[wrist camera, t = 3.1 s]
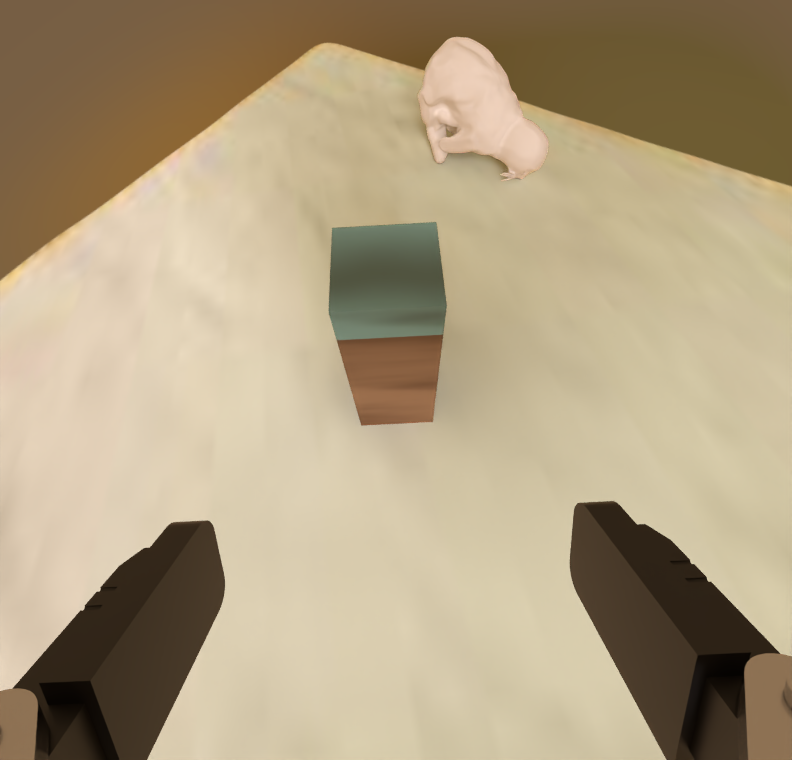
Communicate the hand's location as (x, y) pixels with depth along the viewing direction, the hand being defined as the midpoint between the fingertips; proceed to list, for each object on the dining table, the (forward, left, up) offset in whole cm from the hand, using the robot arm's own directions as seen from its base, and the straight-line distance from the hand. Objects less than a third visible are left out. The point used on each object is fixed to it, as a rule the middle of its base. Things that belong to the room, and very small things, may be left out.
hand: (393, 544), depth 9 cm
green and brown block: (-10, -6, -15) cm, 19 cm away
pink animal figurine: (-35, -10, -15) cm, 39 cm away
